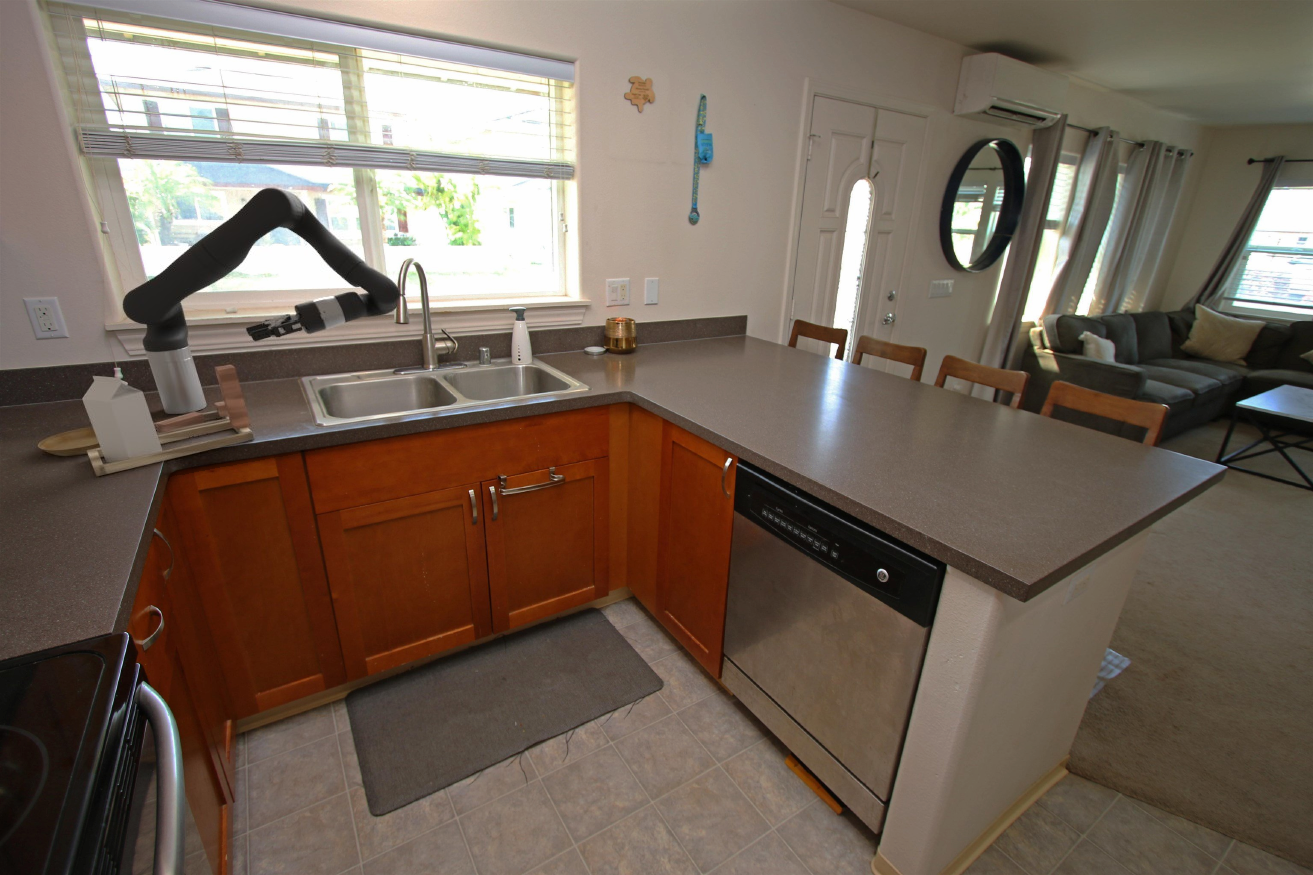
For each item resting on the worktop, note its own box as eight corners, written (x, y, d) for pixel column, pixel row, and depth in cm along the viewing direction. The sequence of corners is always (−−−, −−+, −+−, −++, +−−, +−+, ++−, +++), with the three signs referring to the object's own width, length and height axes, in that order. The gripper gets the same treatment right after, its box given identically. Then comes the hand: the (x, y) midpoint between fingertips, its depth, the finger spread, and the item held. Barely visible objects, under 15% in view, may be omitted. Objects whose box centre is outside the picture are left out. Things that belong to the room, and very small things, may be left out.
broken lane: (132, 434, 144) (125, 416, 142) (231, 414, 158) (226, 397, 156) (139, 445, 138) (132, 426, 136) (241, 423, 152) (236, 406, 150)
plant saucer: (119, 431, 147) (115, 421, 146) (133, 446, 138) (130, 435, 137) (37, 448, 136) (33, 438, 135) (47, 466, 128) (43, 455, 127)
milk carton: (132, 466, 127) (102, 383, 120) (106, 463, 129) (74, 380, 122) (164, 453, 134) (136, 373, 127) (138, 450, 135) (110, 371, 128)
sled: (89, 457, 131) (61, 385, 124) (243, 424, 151) (225, 360, 144) (96, 476, 122) (66, 400, 116) (258, 438, 142) (240, 371, 136)
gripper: (308, 297, 152) (238, 316, 143) (320, 302, 141) (245, 323, 133) (320, 325, 155) (252, 345, 147) (333, 332, 145) (260, 354, 136)
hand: (249, 334), depth 140 cm, fingers open, 8 cm apart
